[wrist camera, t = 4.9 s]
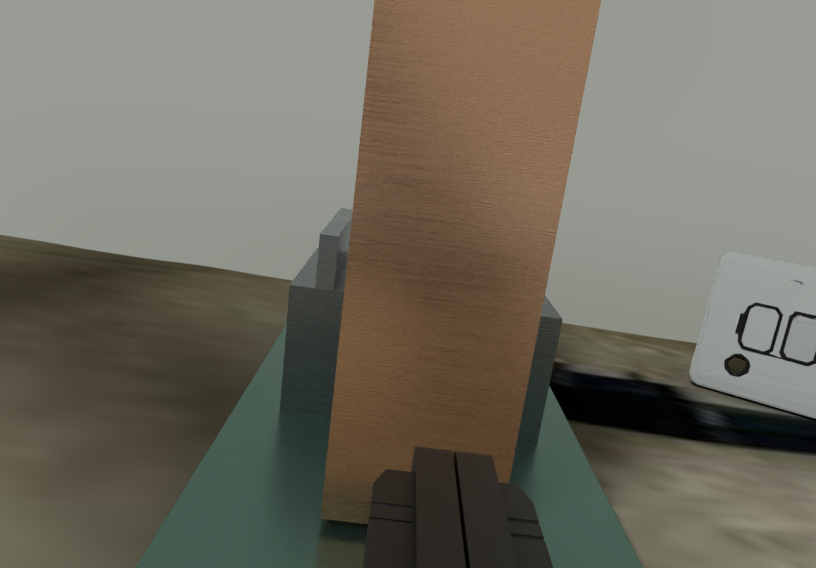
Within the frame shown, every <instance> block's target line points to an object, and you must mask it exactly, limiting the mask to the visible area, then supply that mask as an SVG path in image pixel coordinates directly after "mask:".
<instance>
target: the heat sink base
mask: <svg viewBox="0 0 816 568" xmlns="http://www.w3.org/2000/svg"><path fill="white" fill-rule="evenodd" d="M352 212H353V210H352V209H344V208H341V209H340V210H339V212H338V213H337V214H336V215H335V216H334V218H333V219H332V220H331V221H330V223H329V224H328V225H327V226H326V227H325V229H324V230H323V231H322V232H321V234H320V240H319V248H317V249H316V251H315V252H314V253H313V255H312V256H311V257H310V259H309V260H308V261H307V263H306V264H305V265H304V267H303V268H302V269H301V271H300V272H299V273H298V275H297V276H296V277H295V279H294V280H293V281H292V283H291V284H290V289H289V301H288V314H287V324H286V326H285V327H284V329H283V330H282V332H281V334H280V335H279V337H278V338H277V340H276V342H275V343H274V345H273V347H272V348H271V350H270V351H269V353H268V355H267V356H266V358H265V359H264V361H263V363H262V364H261V366H260V367H259V369H258V371H257V372H256V374H255V376H254V377H253V379H252V380H251V382H250V384H249V385H248V387H247V388H246V390H245V392H244V393H243V395H242V397H241V398H240V400H239V401H238V403H237V405H236V406H235V408H234V409H233V411H232V413H231V414H230V416H229V417H228V419H227V421H226V422H225V424H224V426H223V427H222V429H221V430H220V432H219V434H218V435H217V437H216V438H215V440H214V442H213V443H212V445H211V447H210V448H209V450H208V451H207V453H206V455H205V456H204V458H203V459H202V461H201V463H200V464H199V466H198V467H197V469H196V471H195V472H194V474H193V476H192V477H191V479H190V480H189V482H188V484H187V485H186V487H185V488H184V490H183V492H182V493H181V495H180V497H179V498H178V500H177V501H176V503H175V505H174V506H173V508H172V509H171V511H170V513H169V514H168V516H167V517H166V519H165V521H164V522H163V524H162V526H161V527H160V529H159V530H158V532H157V534H156V535H155V537H154V538H153V540H152V542H151V543H150V545H149V547H148V548H147V550H146V551H145V553H144V555H143V556H142V558H141V559H140V561H139V563H138V564H137V566H136V567H135V568H363V560H364V551H365V543H366V536H367V528H368V524H362V523H353V522H344V521H336V520H327V519H320V518H321V508H322V499H323V489H324V480H325V470H326V461H327V451H328V441H329V432H330V422H331V413H332V403H333V394H334V384H335V375H336V365H337V356H338V346H339V336H340V327H341V317H342V308H343V298H344V289H345V279H346V270H347V260H348V250H349V241H350V231H351V222H352ZM561 324H562V318H561V316H560V315H559V314H558V312H557V311H556V310H555V308H554V307H553V306H552V304H551V303H550V302H549V300H548V299H547V298H546V296H545V297H544V302H543V307H542V312H541V318H540V323H539V328H538V333H537V339H536V344H535V349H534V354H533V360H532V365H531V370H530V375H529V380H528V386H527V391H526V396H525V401H524V407H523V412H522V417H521V422H520V428H519V433H518V438H517V443H516V449H515V454H514V459H513V464H512V469H511V475H510V480H509V484H517V485H518V486H519V487H520V488H521V489H522V490H523V491H524V493H525V494H526V495H527V496H528V497H529V498H530V499H531V500H532V502H533V503H534V507H535V510H536V513H537V517H538V520H539V525H540V526H541V530H542V533H543V536H544V541H545V543H546V546H547V549H548V552H549V556H550V559H551V562H552V565H553V568H643V567H642V566H641V564H640V562H639V560H638V558H637V556H636V554H635V552H634V550H633V548H632V546H631V544H630V542H629V540H628V538H627V536H626V534H625V532H624V530H623V528H622V526H621V525H620V523H619V521H618V519H617V517H616V515H615V513H614V511H613V509H612V507H611V505H610V503H609V501H608V499H607V497H606V495H605V493H604V491H603V489H602V487H601V485H600V484H599V482H598V480H597V478H596V476H595V474H594V472H593V470H592V468H591V466H590V464H589V462H588V460H587V458H586V456H585V454H584V452H583V450H582V448H581V446H580V445H579V443H578V441H577V439H576V437H575V435H574V433H573V431H572V429H571V427H570V425H569V423H568V421H567V419H566V417H565V415H564V413H563V411H562V409H561V407H560V405H559V404H558V402H557V400H556V398H555V396H554V394H553V392H552V390H551V388H550V386H549V384H550V379H551V374H552V369H553V364H554V359H555V354H556V349H557V344H558V339H559V334H560V329H561Z"/></svg>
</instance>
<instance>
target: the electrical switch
mask: <svg viewBox="0 0 816 568" xmlns="http://www.w3.org/2000/svg"><path fill="white" fill-rule="evenodd" d="M715 277H716V278H715V281H714V285H713V288H712V292H711V296H710V299H709V303H708V306H707V310H706V314H705V317H704V321H703V324H702V328H701V332H700V335H699V339H698V342H697V346H696V350H695V353H694V355H693V359H692V363H691V366H690V369H689V376H690V378H691V380H692V381H693V383H695V384H697V385H700V386H703V387H707V388H710V389H713V390H717V391H720V392H724V393H727V394H730V395H734V396H737V397H741V398H744V399H748V400H751V401H754V402H758V403H761V404H765V405H768V406H772V407H775V408H778V409H782V410H785V411H789V412H792V413H795V414H799V415H802V416H806V417H809V418H813V419H816V320H814V318H815V319H816V268H813V267H808V266H803V265H797V264H792V263H787V262H782V261H777V260H771V259H767V258H761V257H756V256H751V255H746V254H740V253H735V252H729V253H728V254H726V255H724V256H723V257H721V259H720V262H719V266H718V269H717V273H716V276H715ZM797 315H798V316H797ZM800 315H801V316H800ZM795 316H796V317H795ZM734 357H738V358H740V359H743V360H745V361H746V363H747V366H746V367H745V369H744V370H743V371H742V373H741V374H734V373H732V372H731V370H730V369H729V367H728V361H730V360H731V359H732V358H734Z"/></svg>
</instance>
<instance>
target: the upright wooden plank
mask: <svg viewBox="0 0 816 568" xmlns="http://www.w3.org/2000/svg"><path fill="white" fill-rule="evenodd" d="M600 3H601V0H375V2H374V12H373V21H372V31H371V40H370V50H369V60H368V69H367V79H366V88H365V98H364V107H363V117H362V127H361V137H360V145H359V155H358V165H357V174H356V184H355V193H354V203H353V212H352V222H351V231H350V241H349V250H348V260H347V270H346V279H345V289H344V298H343V308H342V317H341V327H340V336H339V346H338V356H337V365H336V375H335V384H334V394H333V403H332V413H331V422H330V432H329V441H328V451H327V461H326V470H325V480H324V489H323V499H322V508H321V518H320V519H327V520H336V521H344V522H353V523H362V524H368V520H369V513H370V505H371V498H372V490H373V483H374V482H375V481H376V480H377V478H378V477H379V476H380V475H381V474H382V473H383V472H384V471H385V469H391V470H400V471H408V472H411V467H412V460H413V454H414V449H415V446H419V447H427V448H436V449H444V450H452V452H453V453H454V451H461V452H469V453H478V454H486V455H492V457H493V460H494V465H495V469H496V473H497V478H498V482H500V483H509V480H510V475H511V469H512V464H513V459H514V454H515V449H516V443H517V438H518V433H519V428H520V422H521V417H522V412H523V407H524V401H525V396H526V391H527V386H528V380H529V375H530V370H531V365H532V360H533V354H534V349H535V344H536V339H537V333H538V328H539V323H540V318H541V312H542V307H543V302H544V297H545V291H546V286H547V281H548V276H549V270H550V265H551V260H552V255H553V249H554V244H555V239H556V233H557V229H558V223H559V218H560V213H561V208H562V202H563V197H564V192H565V187H566V181H567V175H568V170H569V166H570V160H571V155H572V150H573V145H574V139H575V134H576V129H577V123H578V118H579V113H580V107H581V103H582V97H583V92H584V87H585V82H586V77H587V71H588V66H589V61H590V56H591V51H592V45H593V39H594V35H595V29H596V24H597V19H598V14H599V8H600Z"/></svg>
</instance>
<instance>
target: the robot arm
mask: <svg viewBox="0 0 816 568" xmlns="http://www.w3.org/2000/svg"><path fill="white" fill-rule="evenodd" d="M363 568H553V565H552V562H551V559H550V556H549V552H548V549H547V546H546V543H545V541H544V536H543V533H542V530H541V526H540V525H539V520H538V517H537V513H536V510H535V507H534V503H533V502H532V500H531V499H530V498H529V497H528V496H527V495H526V494H525V493H524V491H523V490H522V489H521V488H520V487H519V486H518V485H517V484H509V483H500V482H498V478H497V473H496V469H495V465H494V460H493V457H492V455H486V454H478V453H469V452H461V451H454V453H453V452H452V450H444V449H436V448H427V447H419V446H415V449H414V454H413V460H412V467H411V472H408V471H400V470H391V469H385V471H384V472H383V473H382V474H381V475H380V476H379V477H378V478H377V480H376V481H375V482H374V483H373V490H372V498H371V505H370V513H369V520H368V528H367V536H366V543H365V551H364V560H363Z"/></svg>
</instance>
